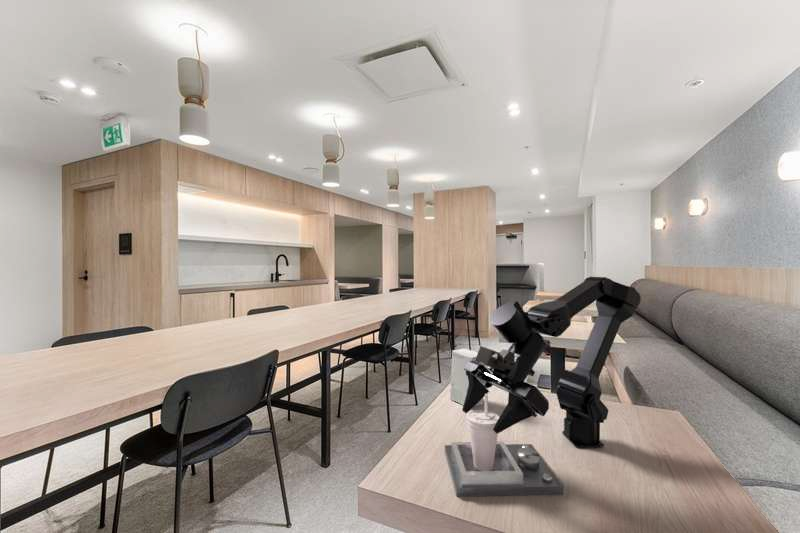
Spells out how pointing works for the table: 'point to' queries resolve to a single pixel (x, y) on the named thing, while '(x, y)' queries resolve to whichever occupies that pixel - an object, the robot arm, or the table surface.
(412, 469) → the table surface
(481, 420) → the smoothie
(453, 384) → the skincare box
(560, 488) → the grey tray with knobs
